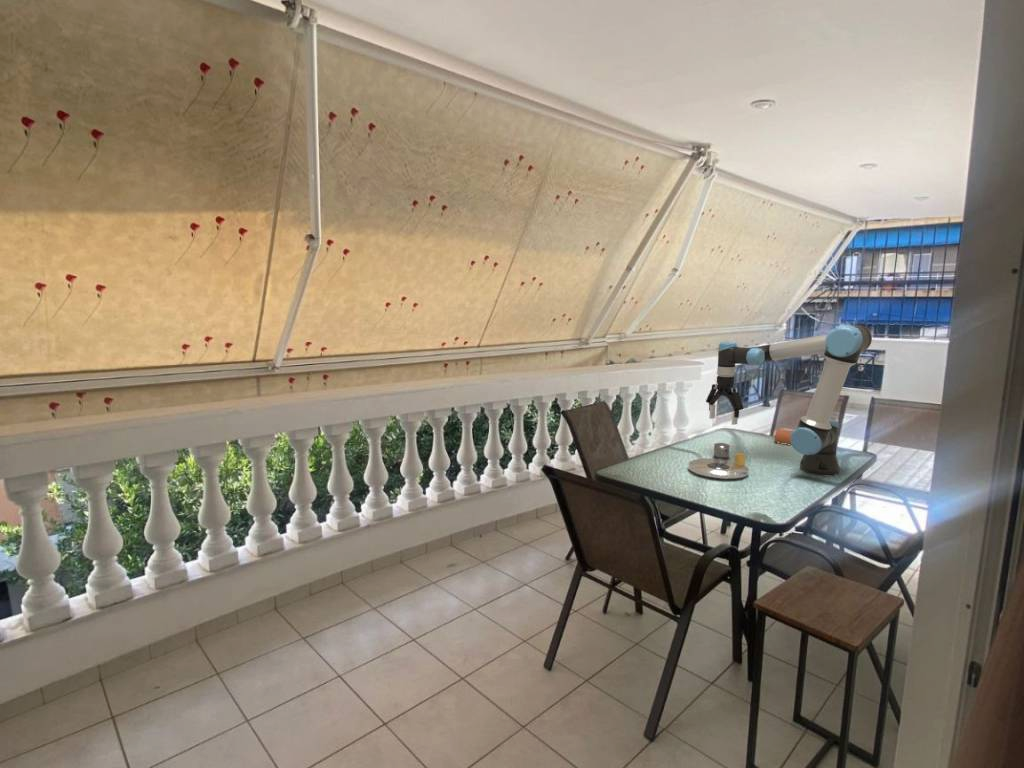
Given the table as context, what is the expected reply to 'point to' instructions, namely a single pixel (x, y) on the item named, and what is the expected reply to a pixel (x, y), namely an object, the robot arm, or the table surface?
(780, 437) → the orange elongated piece
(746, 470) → the turntable
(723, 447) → the cover
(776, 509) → the table surface
